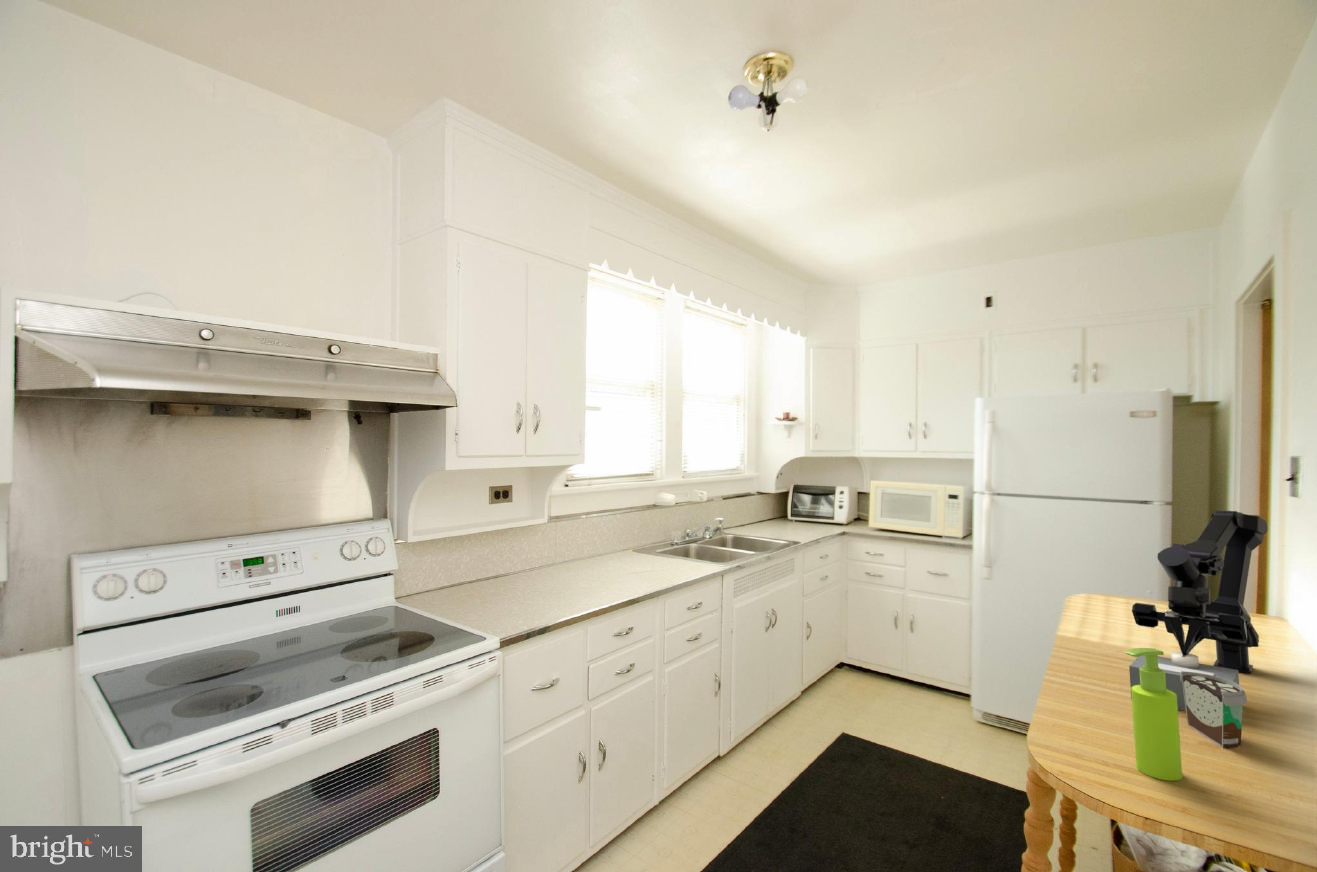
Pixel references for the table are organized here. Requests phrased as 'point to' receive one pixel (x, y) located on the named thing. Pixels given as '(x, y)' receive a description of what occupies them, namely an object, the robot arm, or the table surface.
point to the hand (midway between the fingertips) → (1184, 653)
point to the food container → (1214, 707)
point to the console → (1174, 675)
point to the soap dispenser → (1155, 720)
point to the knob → (1185, 660)
